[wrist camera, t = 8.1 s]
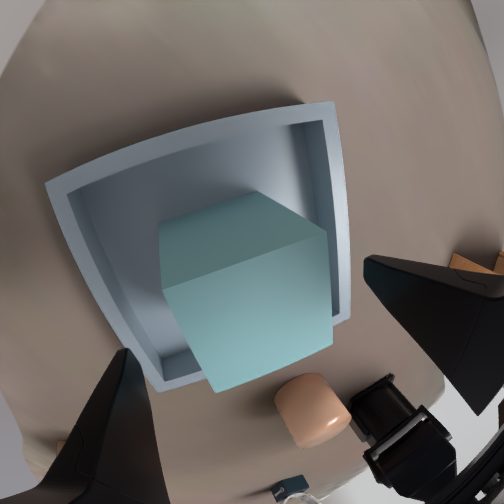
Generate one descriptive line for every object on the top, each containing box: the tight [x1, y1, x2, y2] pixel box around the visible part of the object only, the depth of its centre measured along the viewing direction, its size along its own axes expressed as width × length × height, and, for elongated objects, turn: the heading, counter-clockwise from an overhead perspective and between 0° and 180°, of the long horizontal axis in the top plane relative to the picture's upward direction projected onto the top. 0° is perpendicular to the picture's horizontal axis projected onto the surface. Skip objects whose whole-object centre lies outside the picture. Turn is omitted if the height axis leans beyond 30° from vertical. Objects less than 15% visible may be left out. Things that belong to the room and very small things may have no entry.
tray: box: [44, 101, 350, 393], centre depth 13 cm, size 13×13×2 cm
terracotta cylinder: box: [274, 373, 351, 449], centre depth 20 cm, size 5×5×5 cm
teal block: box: [158, 191, 333, 393], centre depth 11 cm, size 5×5×6 cm
